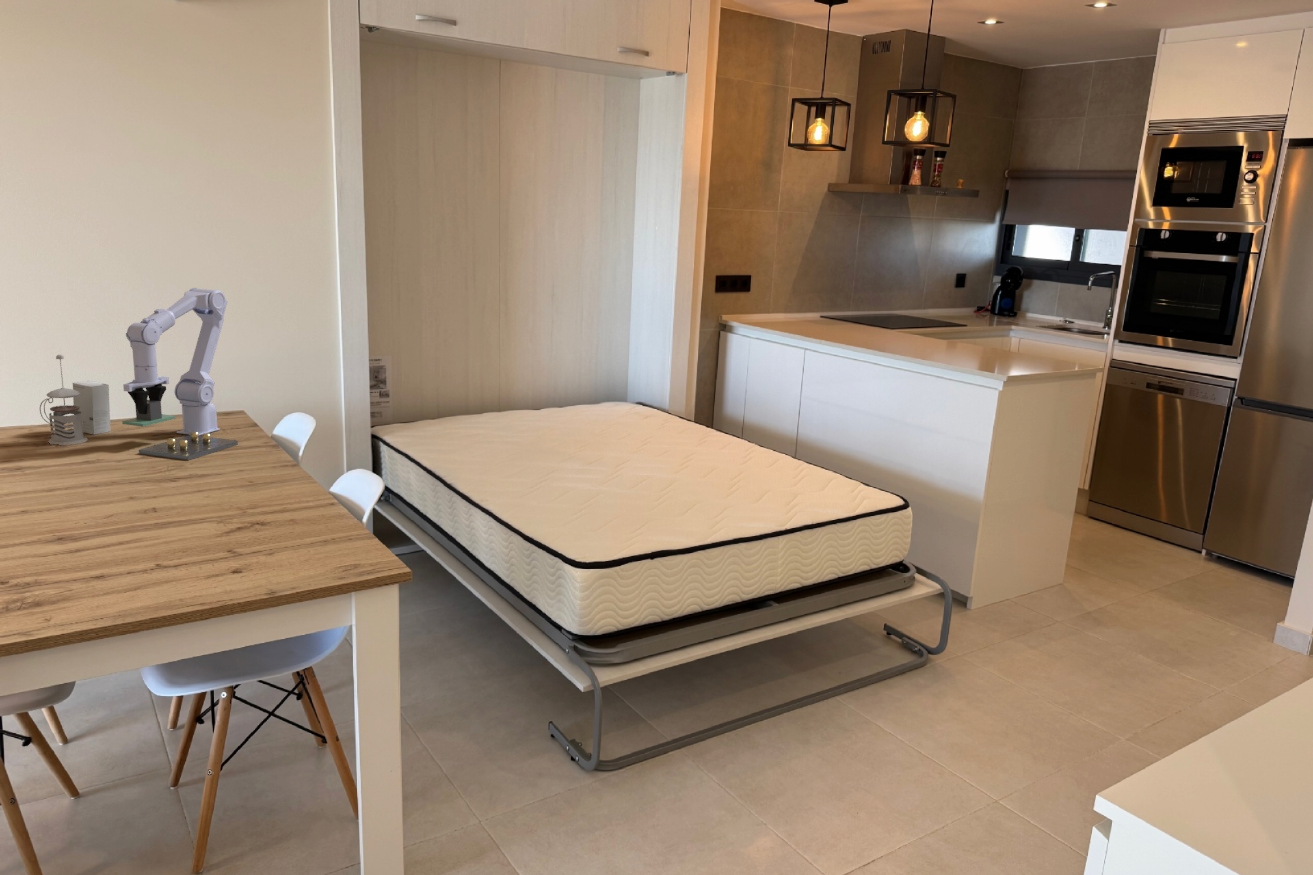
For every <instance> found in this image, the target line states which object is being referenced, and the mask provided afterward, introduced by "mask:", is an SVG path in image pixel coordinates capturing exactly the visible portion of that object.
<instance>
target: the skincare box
mask: <svg viewBox="0 0 1313 875" xmlns="http://www.w3.org/2000/svg"><path fill="white" fill-rule="evenodd" d="M72 390H76V391H78V392H79V393H80V396H77V397H72V400H73V402H72V403H73V405H75V406H79V407H80V408H79V409H78V410H75V411H80V412H81V415H82V426H83V434H90V435H99V434H103V433H109V432H111V410H110V386H109V384H107V383H103V382H100V381H93V380H84V381H75V382H72ZM73 415H75V414H73Z"/></svg>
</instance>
